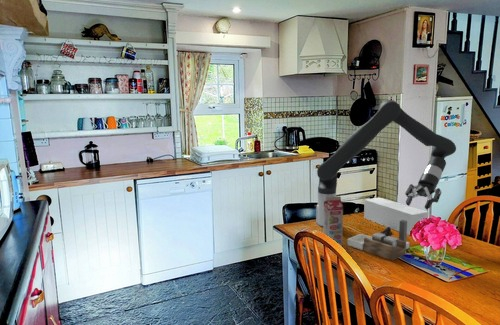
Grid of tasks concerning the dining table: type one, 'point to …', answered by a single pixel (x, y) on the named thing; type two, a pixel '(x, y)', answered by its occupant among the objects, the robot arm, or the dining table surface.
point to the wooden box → (385, 249)
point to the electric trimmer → (386, 231)
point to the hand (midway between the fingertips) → (416, 206)
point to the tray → (357, 241)
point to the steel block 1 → (378, 237)
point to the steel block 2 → (391, 241)
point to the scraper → (403, 232)
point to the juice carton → (333, 218)
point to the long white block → (392, 213)
